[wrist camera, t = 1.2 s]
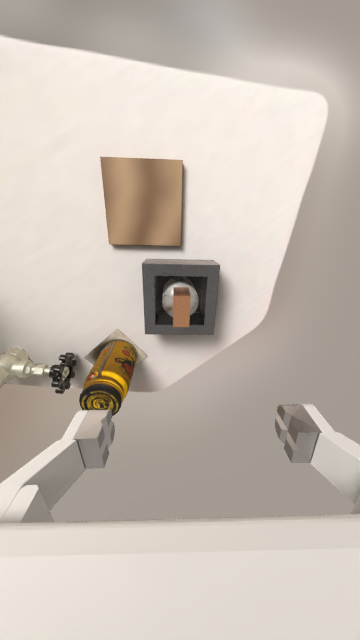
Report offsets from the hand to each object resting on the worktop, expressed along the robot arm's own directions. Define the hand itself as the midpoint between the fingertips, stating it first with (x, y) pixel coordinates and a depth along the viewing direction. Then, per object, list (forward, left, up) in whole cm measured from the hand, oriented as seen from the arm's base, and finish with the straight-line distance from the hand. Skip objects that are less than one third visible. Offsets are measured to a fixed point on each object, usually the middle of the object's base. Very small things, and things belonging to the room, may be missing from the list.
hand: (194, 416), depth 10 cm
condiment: (-11, -13, -25) cm, 30 cm away
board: (-5, +11, -25) cm, 28 cm away
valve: (-24, -13, -25) cm, 37 cm away
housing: (0, -1, -25) cm, 25 cm away
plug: (0, -1, -25) cm, 25 cm away
